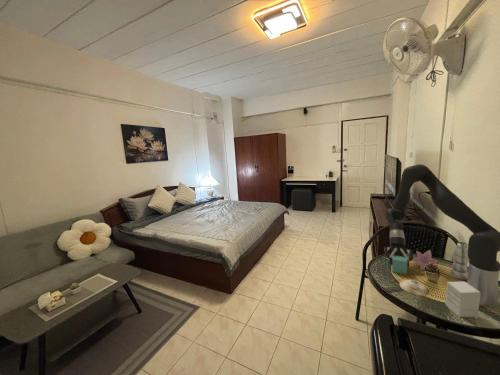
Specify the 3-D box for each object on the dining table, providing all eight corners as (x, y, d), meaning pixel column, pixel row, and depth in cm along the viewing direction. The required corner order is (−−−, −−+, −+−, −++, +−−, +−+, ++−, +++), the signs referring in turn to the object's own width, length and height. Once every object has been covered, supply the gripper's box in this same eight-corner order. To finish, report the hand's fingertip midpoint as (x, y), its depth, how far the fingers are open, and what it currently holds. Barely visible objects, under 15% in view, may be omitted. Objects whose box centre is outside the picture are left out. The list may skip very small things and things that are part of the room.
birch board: (428, 286, 108) (428, 284, 107) (429, 300, 98) (430, 298, 98) (399, 279, 115) (400, 277, 115) (398, 291, 106) (398, 289, 105)
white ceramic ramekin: (418, 286, 107) (418, 281, 106) (418, 290, 104) (418, 284, 103) (409, 284, 109) (409, 278, 108) (409, 288, 106) (409, 282, 106)
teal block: (391, 267, 126) (391, 254, 124) (404, 269, 123) (405, 255, 121) (392, 273, 120) (393, 259, 118) (406, 275, 117) (407, 261, 115)
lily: (407, 267, 126) (413, 259, 120) (411, 253, 133) (417, 244, 127) (431, 279, 120) (439, 271, 114) (434, 263, 126) (442, 255, 120)
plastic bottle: (449, 278, 112) (453, 244, 108) (450, 273, 117) (454, 239, 113) (467, 283, 107) (471, 247, 104) (467, 277, 112) (471, 242, 108)
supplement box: (462, 306, 94) (465, 281, 92) (478, 319, 87) (481, 292, 84) (444, 306, 95) (446, 281, 92) (458, 319, 87) (461, 292, 85)
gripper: (383, 234, 128) (385, 262, 120) (413, 237, 121) (416, 266, 113) (382, 239, 133) (383, 265, 125) (410, 242, 127) (413, 270, 118)
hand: (399, 266), depth 119 cm, fingers closed on teal block, 6 cm apart
